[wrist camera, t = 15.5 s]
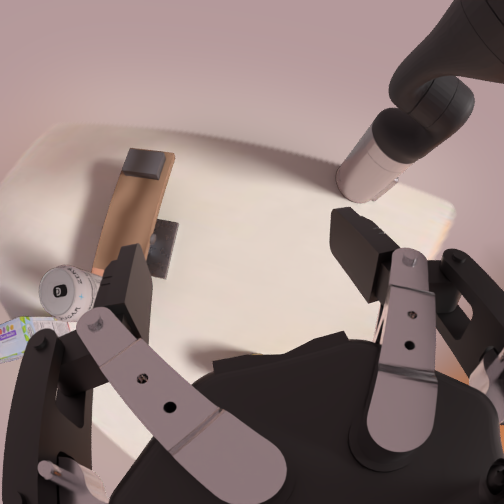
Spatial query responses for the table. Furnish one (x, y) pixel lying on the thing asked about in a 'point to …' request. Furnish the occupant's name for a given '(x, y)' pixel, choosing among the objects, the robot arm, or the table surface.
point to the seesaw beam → (134, 205)
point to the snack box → (25, 334)
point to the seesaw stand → (161, 248)
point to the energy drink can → (68, 292)
